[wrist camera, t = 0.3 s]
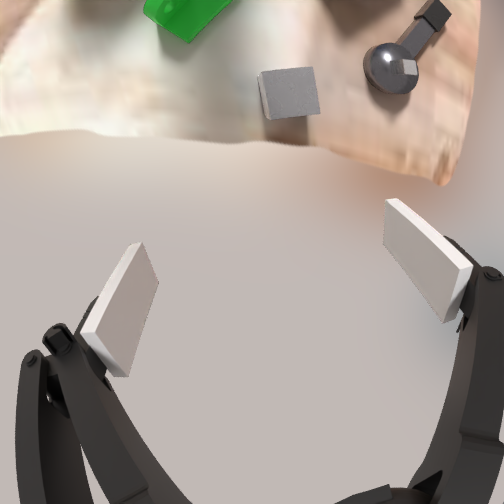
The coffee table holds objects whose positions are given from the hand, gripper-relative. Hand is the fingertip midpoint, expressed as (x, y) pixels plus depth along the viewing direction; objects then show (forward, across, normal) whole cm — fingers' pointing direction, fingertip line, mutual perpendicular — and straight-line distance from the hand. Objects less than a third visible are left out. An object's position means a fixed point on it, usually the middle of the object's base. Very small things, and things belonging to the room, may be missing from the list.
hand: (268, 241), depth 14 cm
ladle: (+26, +22, +10) cm, 35 cm away
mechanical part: (+26, -2, +23) cm, 35 cm away
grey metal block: (+26, +6, +7) cm, 27 cm away
